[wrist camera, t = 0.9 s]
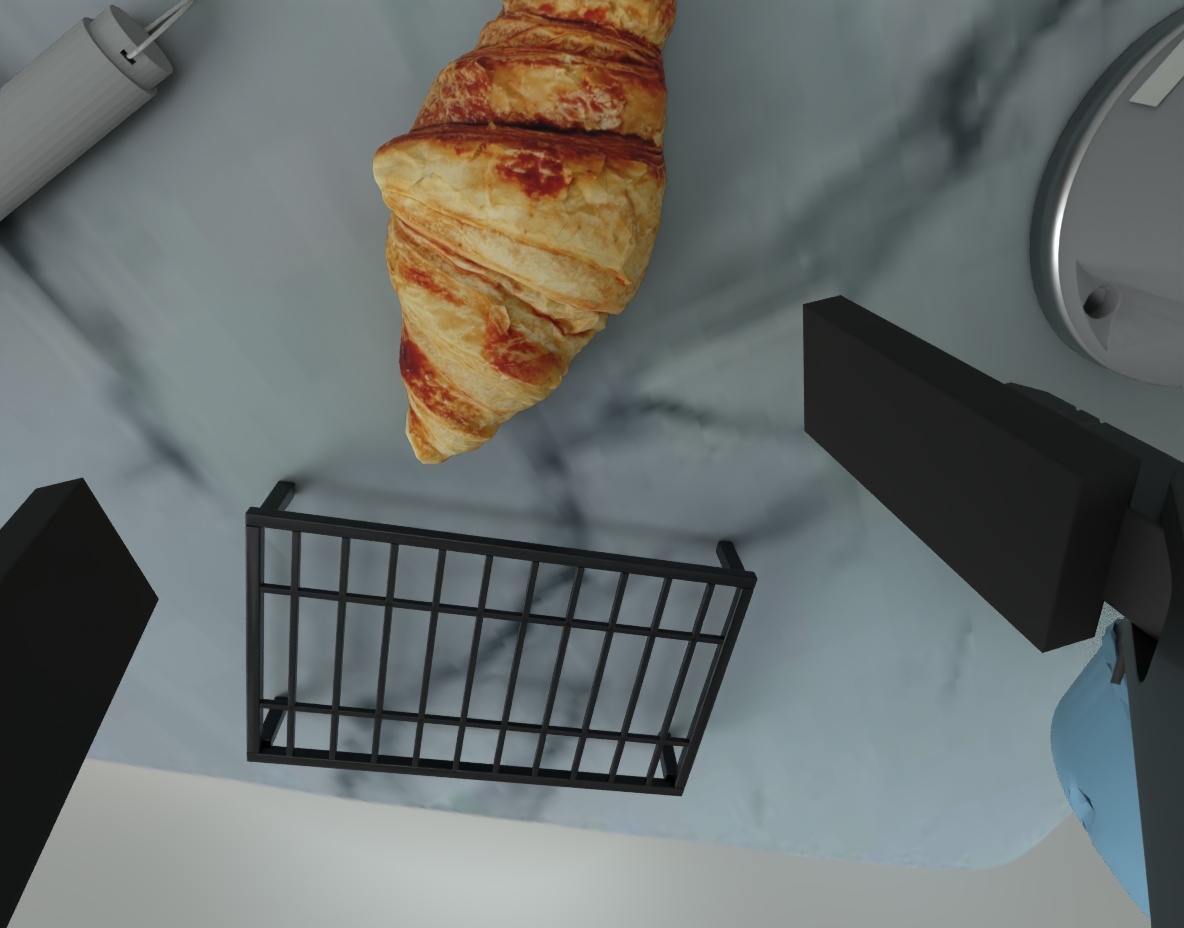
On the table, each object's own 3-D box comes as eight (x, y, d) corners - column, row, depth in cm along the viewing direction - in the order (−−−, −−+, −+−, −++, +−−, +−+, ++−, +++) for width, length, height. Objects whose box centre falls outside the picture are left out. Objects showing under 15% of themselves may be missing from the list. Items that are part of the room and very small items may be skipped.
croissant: (499, 434, 36) (574, 532, 31) (288, 409, 30) (336, 527, 24) (687, -37, 28) (837, -17, 22) (449, -208, 21) (576, -238, 16)
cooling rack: (738, 538, 36) (758, 578, 32) (671, 745, 41) (682, 796, 38) (273, 474, 32) (245, 512, 29) (270, 708, 38) (246, 761, 35)
